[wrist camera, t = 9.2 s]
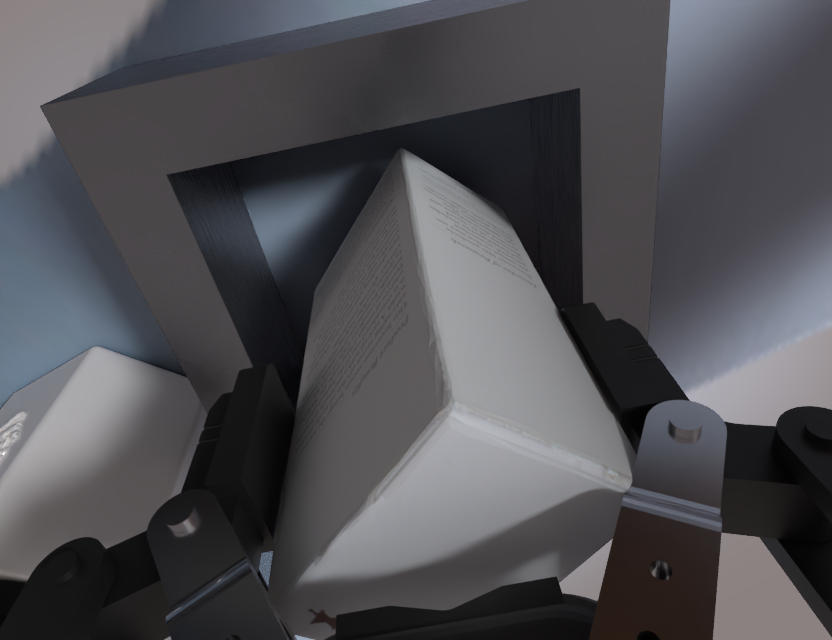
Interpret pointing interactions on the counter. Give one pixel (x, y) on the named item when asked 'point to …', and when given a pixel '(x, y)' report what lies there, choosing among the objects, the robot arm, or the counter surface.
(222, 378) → the socket block
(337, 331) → the skincare box
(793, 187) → the counter surface
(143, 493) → the jar
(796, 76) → the counter surface
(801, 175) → the counter surface
